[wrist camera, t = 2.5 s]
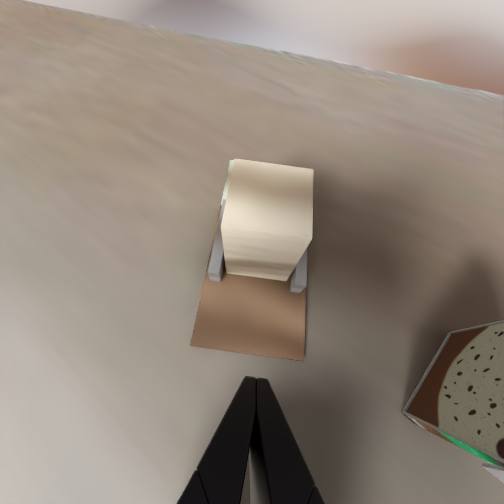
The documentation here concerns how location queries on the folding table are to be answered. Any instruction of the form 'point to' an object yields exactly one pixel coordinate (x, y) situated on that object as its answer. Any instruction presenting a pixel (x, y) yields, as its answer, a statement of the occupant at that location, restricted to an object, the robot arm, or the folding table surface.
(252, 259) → the block
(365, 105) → the folding table surface
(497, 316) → the folding table surface
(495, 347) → the food container
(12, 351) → the folding table surface
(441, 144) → the folding table surface
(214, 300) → the chute
